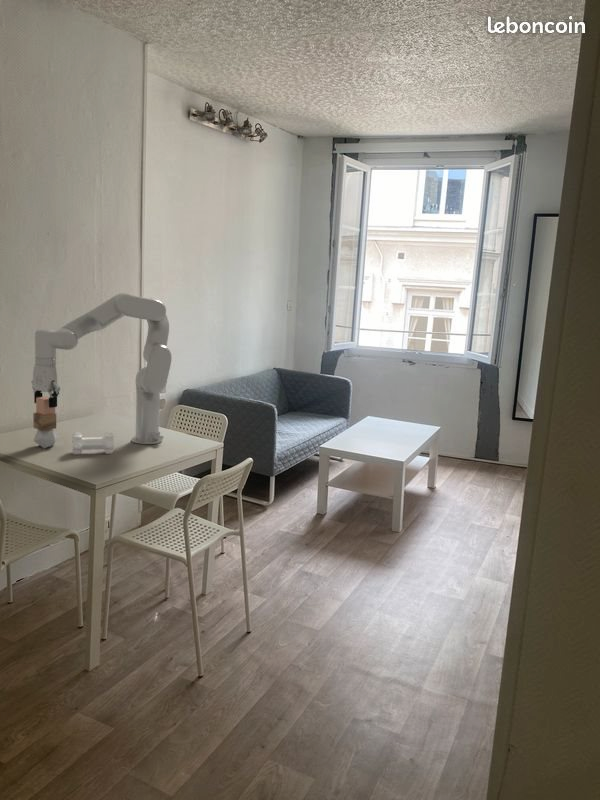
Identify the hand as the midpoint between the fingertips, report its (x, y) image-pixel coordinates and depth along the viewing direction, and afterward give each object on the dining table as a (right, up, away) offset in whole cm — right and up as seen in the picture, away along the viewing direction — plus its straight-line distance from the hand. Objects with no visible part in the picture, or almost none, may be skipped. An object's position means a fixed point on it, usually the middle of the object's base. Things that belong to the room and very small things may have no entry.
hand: (45, 405), depth 245 cm
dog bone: (+19, -19, -1) cm, 27 cm away
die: (-1, -17, +3) cm, 17 cm away
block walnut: (-1, -9, +1) cm, 9 cm away
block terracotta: (0, -3, +1) cm, 3 cm away
